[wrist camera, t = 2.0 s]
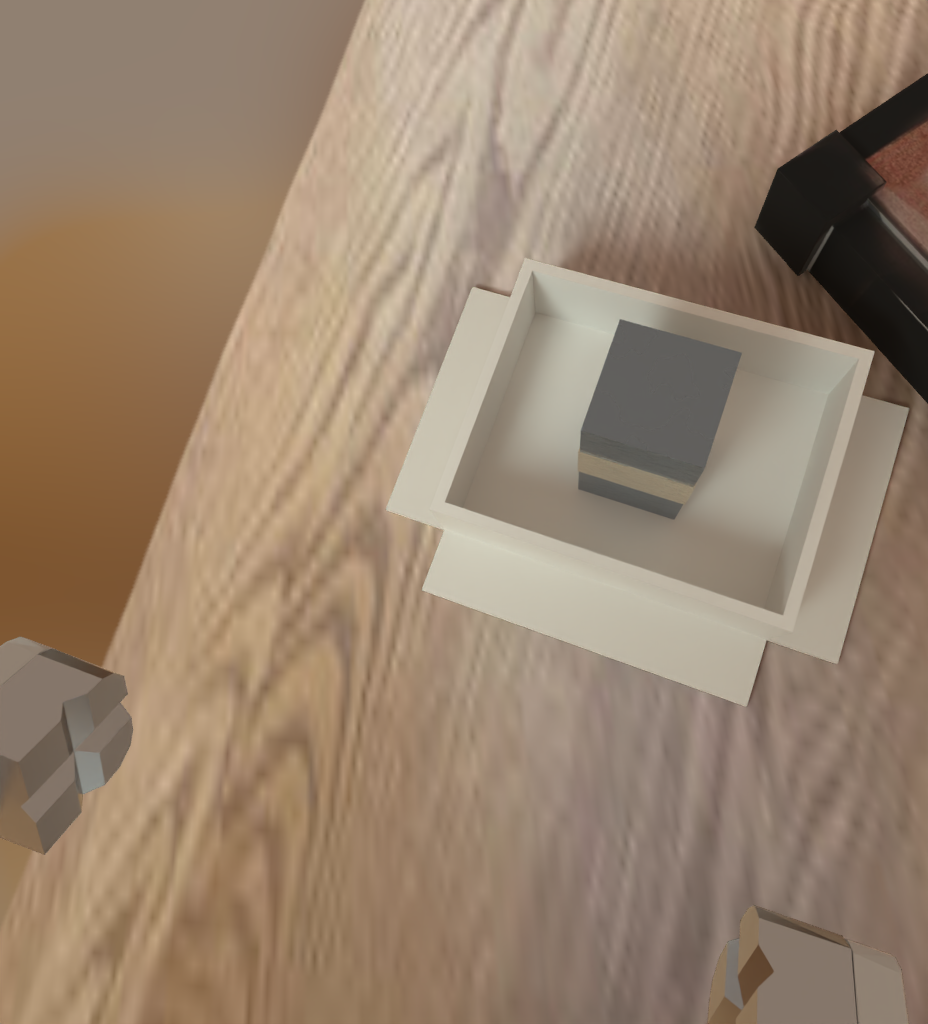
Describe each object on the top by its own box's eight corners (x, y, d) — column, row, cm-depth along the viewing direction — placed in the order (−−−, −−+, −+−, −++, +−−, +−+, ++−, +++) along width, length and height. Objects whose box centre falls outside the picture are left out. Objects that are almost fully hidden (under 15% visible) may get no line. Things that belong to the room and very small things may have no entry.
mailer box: (816, 732, 34) (852, 737, 30) (363, 569, 38) (337, 553, 34) (906, 410, 37) (952, 372, 32) (473, 289, 41) (461, 240, 36)
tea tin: (674, 521, 36) (705, 469, 28) (576, 489, 37) (578, 430, 29) (705, 428, 37) (744, 352, 29) (608, 399, 38) (619, 317, 30)
